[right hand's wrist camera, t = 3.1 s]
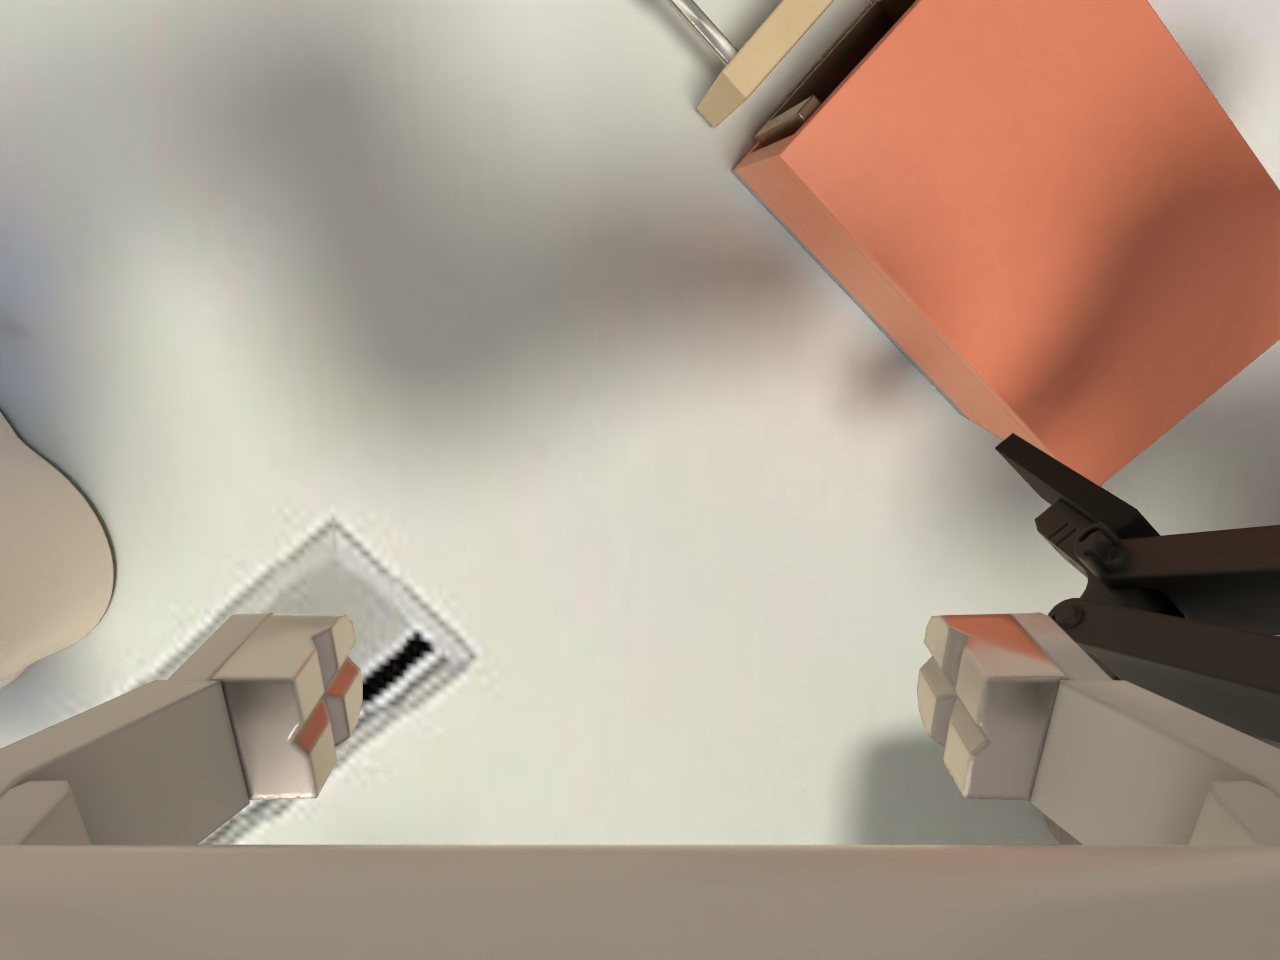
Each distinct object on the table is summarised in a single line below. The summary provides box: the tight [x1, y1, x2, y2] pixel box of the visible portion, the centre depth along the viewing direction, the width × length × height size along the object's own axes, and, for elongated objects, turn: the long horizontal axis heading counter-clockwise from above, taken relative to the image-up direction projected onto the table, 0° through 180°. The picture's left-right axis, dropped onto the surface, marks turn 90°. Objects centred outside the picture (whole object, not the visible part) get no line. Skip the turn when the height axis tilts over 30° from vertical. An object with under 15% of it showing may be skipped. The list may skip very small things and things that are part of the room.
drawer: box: [666, 0, 916, 147], centre depth 29 cm, size 21×10×10 cm, turn 47°
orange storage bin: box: [731, 0, 1280, 486], centre depth 30 cm, size 18×11×12 cm, turn 47°
